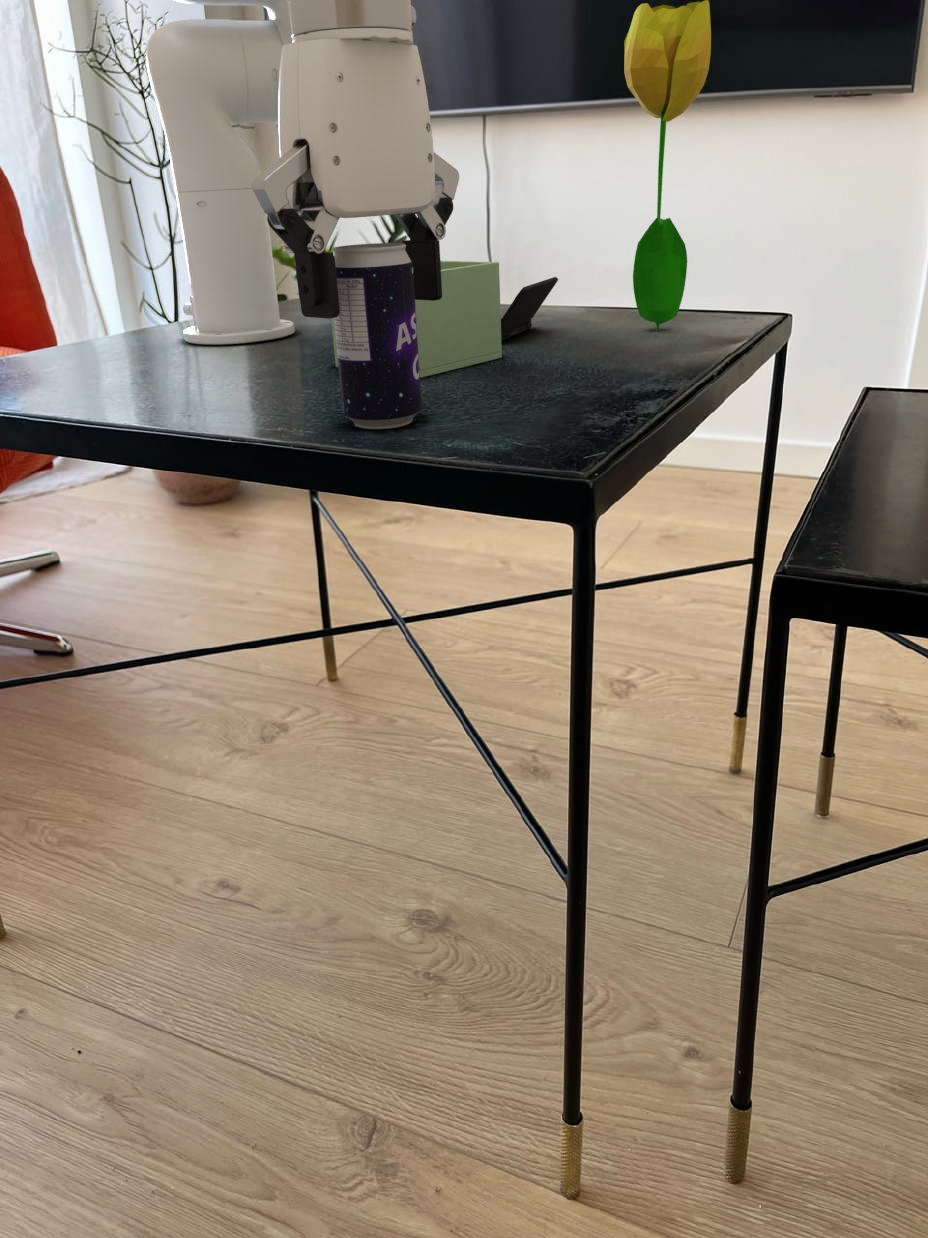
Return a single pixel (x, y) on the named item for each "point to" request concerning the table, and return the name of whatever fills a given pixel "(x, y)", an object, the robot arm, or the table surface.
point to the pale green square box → (458, 319)
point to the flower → (664, 86)
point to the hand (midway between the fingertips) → (374, 307)
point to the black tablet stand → (525, 307)
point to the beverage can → (377, 335)
